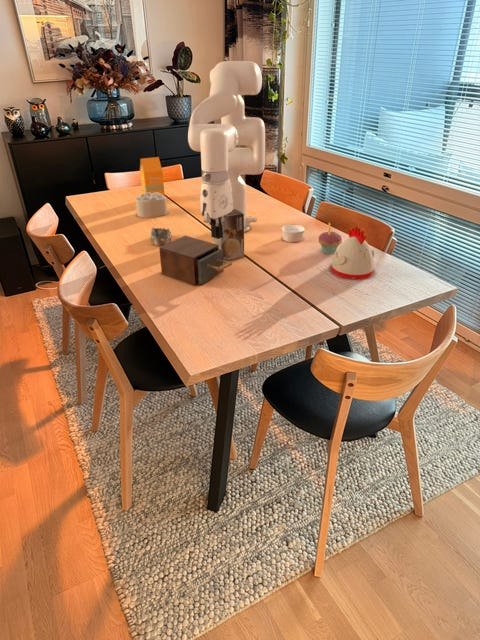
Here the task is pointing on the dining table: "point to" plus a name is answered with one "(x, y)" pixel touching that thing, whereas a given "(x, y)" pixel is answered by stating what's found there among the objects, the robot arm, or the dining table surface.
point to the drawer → (210, 265)
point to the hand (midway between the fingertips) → (217, 237)
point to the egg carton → (160, 236)
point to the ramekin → (292, 233)
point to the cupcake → (329, 241)
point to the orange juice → (151, 175)
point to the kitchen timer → (353, 257)
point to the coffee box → (232, 236)
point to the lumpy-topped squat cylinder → (151, 205)
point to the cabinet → (183, 258)
